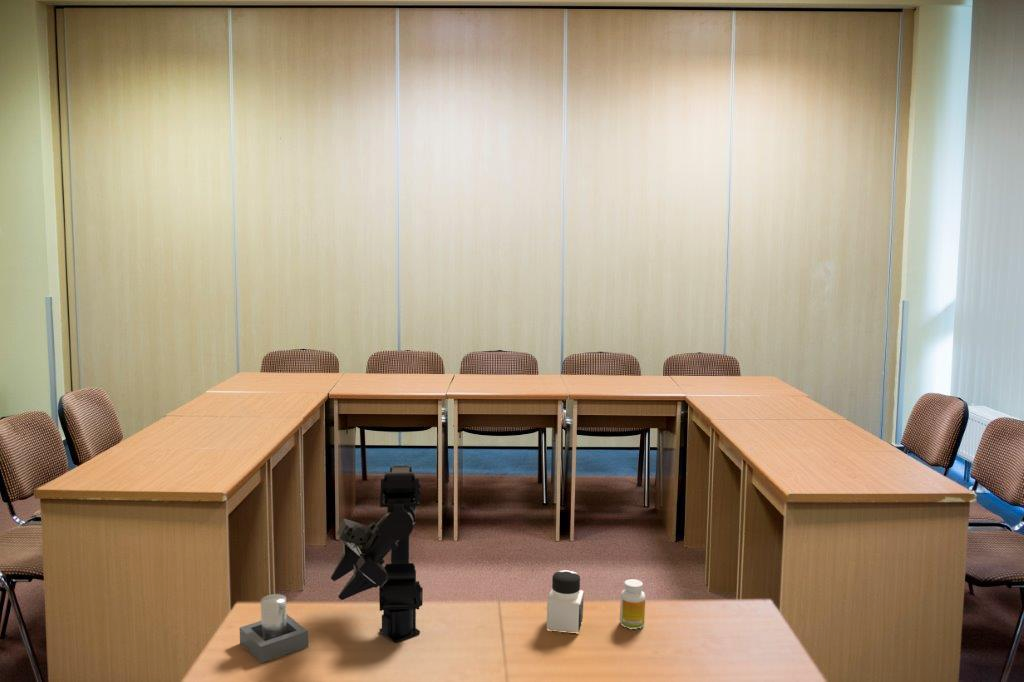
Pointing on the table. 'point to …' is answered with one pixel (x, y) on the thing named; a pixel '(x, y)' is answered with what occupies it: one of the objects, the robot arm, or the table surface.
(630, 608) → the supplement bottle
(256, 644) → the grey square frame
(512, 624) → the table surface
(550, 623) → the medicine bottle
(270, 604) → the steel shaft
